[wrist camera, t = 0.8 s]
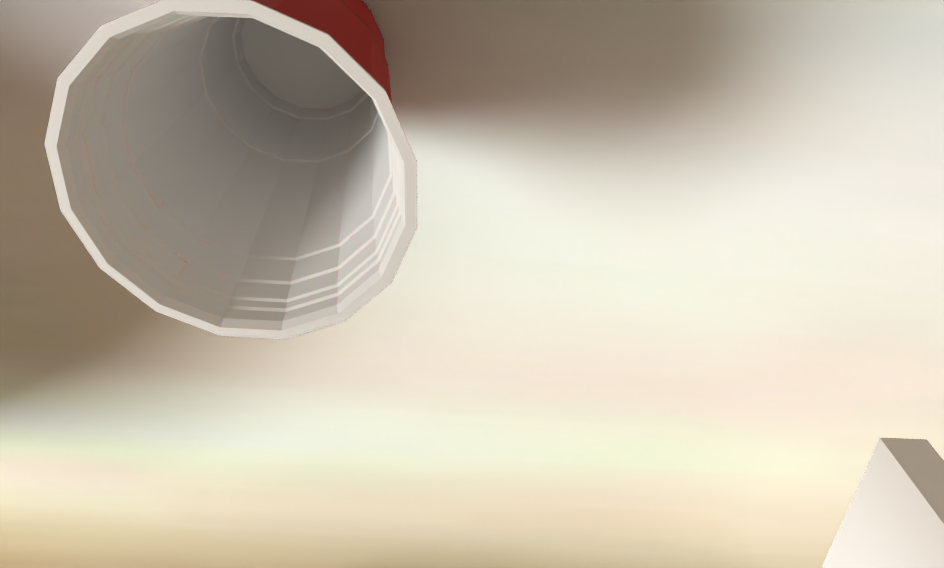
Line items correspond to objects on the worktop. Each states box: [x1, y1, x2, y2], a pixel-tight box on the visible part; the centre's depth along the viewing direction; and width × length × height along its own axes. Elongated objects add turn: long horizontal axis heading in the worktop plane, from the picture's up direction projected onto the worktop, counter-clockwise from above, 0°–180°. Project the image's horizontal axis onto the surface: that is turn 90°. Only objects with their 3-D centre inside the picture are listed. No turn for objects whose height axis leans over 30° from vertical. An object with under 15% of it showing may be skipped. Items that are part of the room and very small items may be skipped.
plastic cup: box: [44, 0, 417, 339], centre depth 31 cm, size 11×11×12 cm
